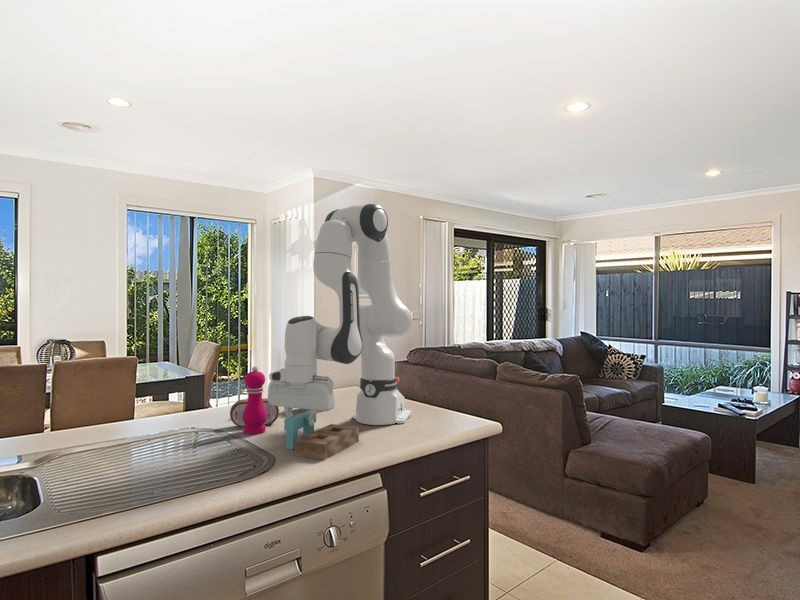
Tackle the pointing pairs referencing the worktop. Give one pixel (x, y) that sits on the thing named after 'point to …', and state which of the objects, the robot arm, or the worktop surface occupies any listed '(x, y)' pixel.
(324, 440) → the slotted wooden block
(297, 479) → the worktop surface
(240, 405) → the tin
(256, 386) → the pepper mill
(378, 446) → the worktop surface
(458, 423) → the worktop surface
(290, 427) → the clip
